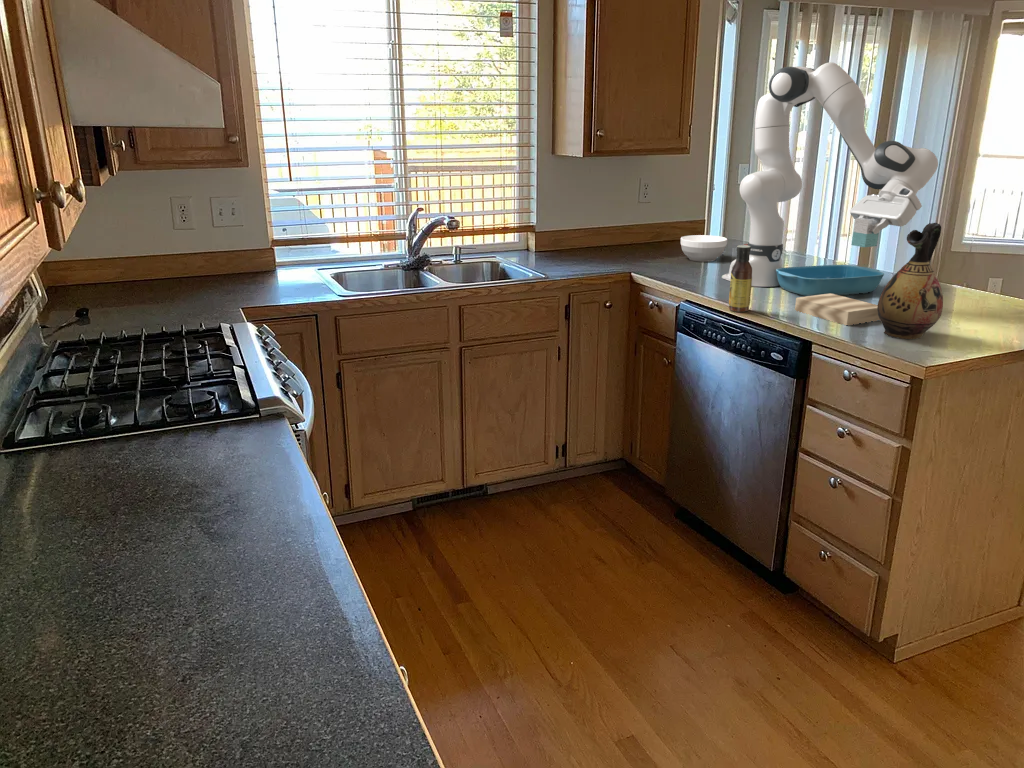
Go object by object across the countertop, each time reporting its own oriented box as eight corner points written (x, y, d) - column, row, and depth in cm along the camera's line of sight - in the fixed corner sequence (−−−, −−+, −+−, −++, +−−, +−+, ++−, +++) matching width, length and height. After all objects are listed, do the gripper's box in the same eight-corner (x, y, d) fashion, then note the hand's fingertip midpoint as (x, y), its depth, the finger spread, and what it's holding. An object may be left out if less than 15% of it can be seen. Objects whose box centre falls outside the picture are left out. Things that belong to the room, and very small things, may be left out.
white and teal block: (851, 245, 231) (855, 218, 228) (863, 243, 233) (867, 217, 230) (864, 247, 226) (868, 220, 224) (876, 246, 228) (880, 219, 226)
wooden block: (794, 310, 231) (796, 297, 230) (828, 305, 237) (830, 293, 235) (846, 325, 214) (848, 312, 213) (882, 320, 219) (884, 306, 218)
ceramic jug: (918, 346, 194) (939, 229, 184) (862, 333, 206) (878, 222, 196) (951, 335, 203) (972, 223, 194) (895, 324, 215) (912, 217, 205)
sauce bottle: (733, 306, 237) (738, 243, 230) (752, 309, 233) (758, 245, 226) (724, 310, 232) (729, 246, 225) (743, 313, 228) (749, 248, 221)
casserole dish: (849, 281, 273) (852, 261, 271) (895, 293, 253) (898, 272, 250) (761, 288, 263) (763, 267, 261) (801, 301, 243) (804, 280, 241)
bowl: (671, 257, 322) (672, 236, 319) (710, 254, 328) (711, 234, 325) (694, 264, 305) (695, 242, 302) (734, 261, 311) (736, 240, 308)
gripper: (864, 186, 236) (834, 220, 236) (917, 192, 217) (885, 228, 218) (873, 200, 238) (844, 233, 239) (926, 207, 220) (895, 242, 220)
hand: (864, 231), depth 228 cm, fingers closed on white and teal block, 5 cm apart
